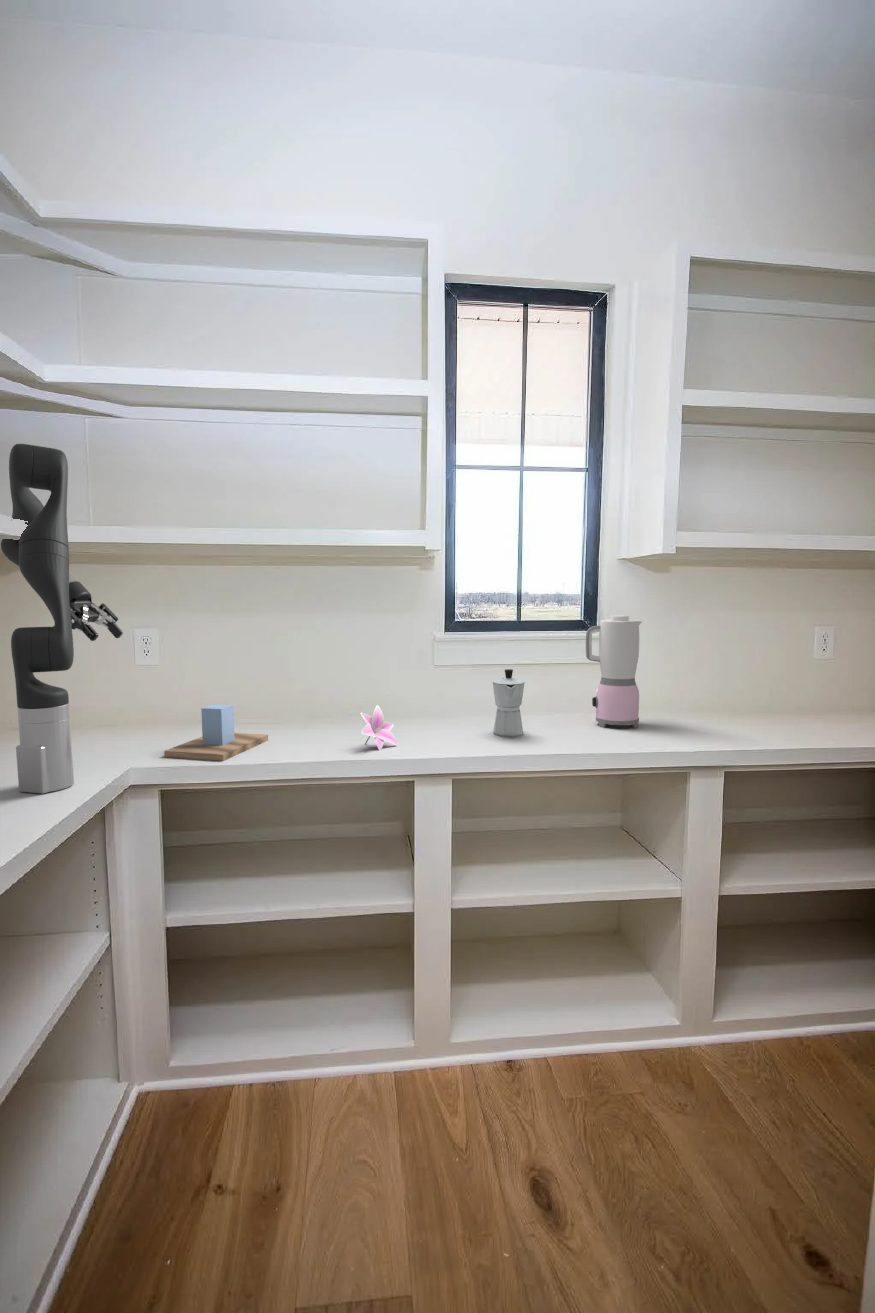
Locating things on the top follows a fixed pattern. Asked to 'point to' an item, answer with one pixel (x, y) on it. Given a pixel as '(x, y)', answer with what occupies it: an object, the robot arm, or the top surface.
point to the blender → (616, 671)
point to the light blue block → (217, 724)
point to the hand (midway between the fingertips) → (108, 637)
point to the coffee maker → (508, 706)
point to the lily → (378, 728)
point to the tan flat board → (216, 748)
